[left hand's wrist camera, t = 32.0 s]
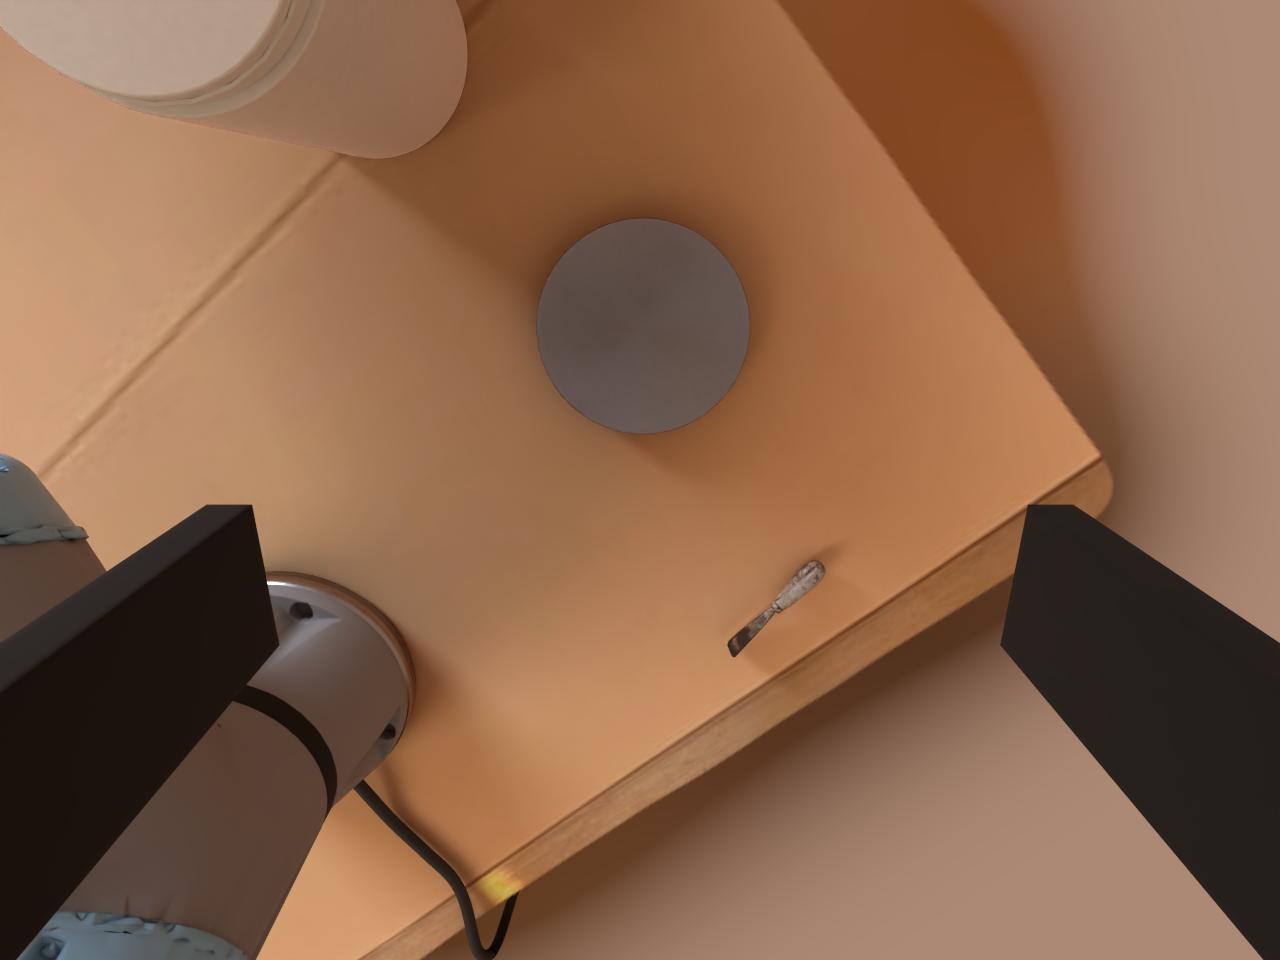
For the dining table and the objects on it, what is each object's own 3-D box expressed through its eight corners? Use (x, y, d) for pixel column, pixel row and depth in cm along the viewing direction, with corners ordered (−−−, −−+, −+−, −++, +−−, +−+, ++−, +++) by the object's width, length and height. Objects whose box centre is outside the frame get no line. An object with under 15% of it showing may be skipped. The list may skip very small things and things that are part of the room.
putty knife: (825, 563, 45) (831, 576, 43) (735, 649, 47) (738, 664, 45) (813, 554, 44) (819, 566, 43) (723, 640, 46) (726, 655, 45)
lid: (534, 219, 38) (529, 219, 36) (749, 216, 38) (754, 216, 36) (547, 427, 42) (543, 435, 40) (742, 424, 42) (746, 432, 40)
